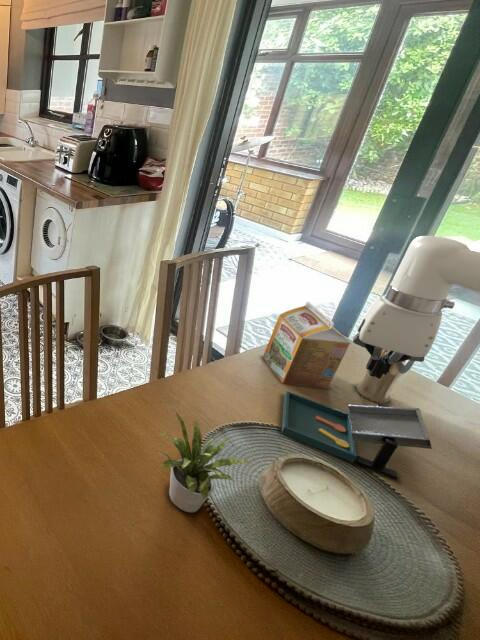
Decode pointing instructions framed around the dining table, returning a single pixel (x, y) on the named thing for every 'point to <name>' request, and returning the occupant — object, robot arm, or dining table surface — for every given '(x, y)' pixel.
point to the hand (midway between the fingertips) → (374, 373)
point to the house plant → (194, 470)
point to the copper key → (332, 424)
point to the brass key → (335, 439)
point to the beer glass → (384, 381)
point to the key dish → (389, 425)
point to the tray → (317, 425)
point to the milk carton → (305, 347)
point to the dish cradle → (381, 458)
